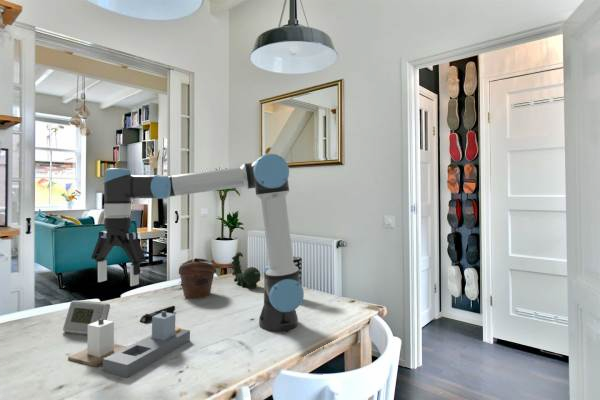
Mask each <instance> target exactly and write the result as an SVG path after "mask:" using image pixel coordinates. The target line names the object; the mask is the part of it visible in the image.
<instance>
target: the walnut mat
mask: <svg viewBox="0 0 600 400" xmlns="http://www.w3.org/2000/svg"><path fill="white" fill-rule="evenodd" d="M126 347H128V346H127V345H123V344H118V343H114V350H113V351H111V352H109V353H107V354H105V355H103V356H100V357H97V356H93V355H89V354H87V348H86V349H82V350H81V351H78V352H76V353H74V354H71V355H69V356H68V357H67V360H68V361H73V362H76V363H78V364H79V363H80V364H83V365H88V366H92V367H95V368H99V367H101V366H103V359H104V358H106V357H108V356H110V355H112V354H114V353H116V352H118V351H120V350H122V349H124V348H126Z"/></svg>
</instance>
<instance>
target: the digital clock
mask: <svg viewBox="0 0 600 400" xmlns="http://www.w3.org/2000/svg"><path fill="white" fill-rule="evenodd" d="M110 309H111V305H110V303H106V302H100V301H92V300H71V302H70V303H69V307H68V310H67V314H66V317H65V321H64V324H63V326H62V327H63V328H62V330H63V332H64V333H69V334H72V335H80V336H88V324H91V323H94V322H96V321H98V319H102V318H103V319H104V320H108V317H109V313H110Z"/></svg>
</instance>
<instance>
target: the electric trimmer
mask: <svg viewBox="0 0 600 400" xmlns="http://www.w3.org/2000/svg"><path fill="white" fill-rule="evenodd" d="M162 311H166V312H167V313H173V312H175V311H176V306H175V305H171V306H168V307H164V308H162V309H158V310H155V311H153V312H151V313H145V314H144V315H142V316H141V317H140V320H139V322H140V323H142V324H148V323H149V322H150V321H151V322H152V317H153V316H155V315H157V314H160V313H162Z"/></svg>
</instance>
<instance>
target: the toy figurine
mask: <svg viewBox="0 0 600 400" xmlns="http://www.w3.org/2000/svg"><path fill="white" fill-rule="evenodd" d="M240 257H241V258H243V257H244V254H243V253H242V252H241V251H239V252H236V253H235V255H233V256H232V258H231V259H232V261H231V264H232V265H233V266H232V267H231V270H233V272H232V273H231V274H232V276H234V279H233V282H234V283H235V282H236V284H237V286H242V287H244V286H246V285H249V288H250V289H256V288H257V285H258V282H260V281H261V273H260V270H259V269H258V268H257V267H254V266H250V267H248V268H246V269H245V270H244V271H243V270H242V267H241V264H240V263H241V261H240Z"/></svg>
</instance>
